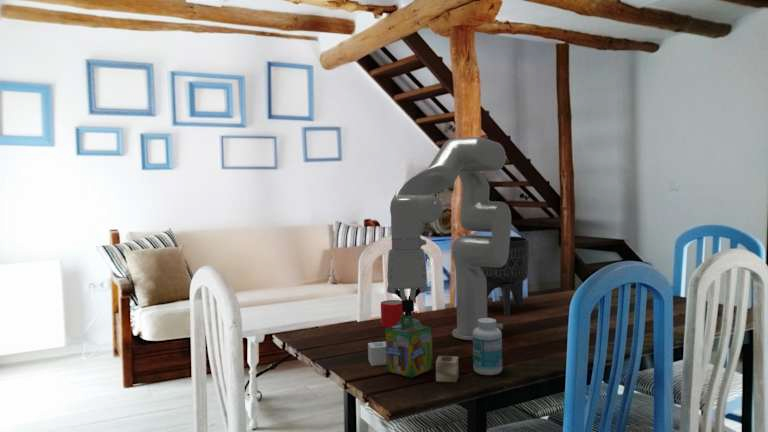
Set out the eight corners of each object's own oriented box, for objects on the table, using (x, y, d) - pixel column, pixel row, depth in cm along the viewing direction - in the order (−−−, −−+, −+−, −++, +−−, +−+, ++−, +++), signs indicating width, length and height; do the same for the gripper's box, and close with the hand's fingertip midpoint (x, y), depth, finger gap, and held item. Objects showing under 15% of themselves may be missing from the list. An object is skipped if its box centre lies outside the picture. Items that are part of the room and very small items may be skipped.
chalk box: (411, 379, 151) (410, 321, 150) (385, 371, 157) (383, 316, 156) (434, 369, 157) (433, 314, 156) (407, 362, 164) (406, 309, 163)
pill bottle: (470, 367, 158) (469, 317, 157) (497, 365, 159) (496, 315, 158) (477, 377, 151) (476, 324, 150) (505, 375, 151) (505, 322, 150)
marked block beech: (458, 375, 152) (458, 355, 152) (456, 382, 147) (455, 362, 147) (439, 374, 153) (438, 354, 153) (436, 381, 149) (435, 361, 148)
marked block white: (385, 358, 168) (385, 340, 167) (389, 364, 163) (389, 345, 163) (368, 360, 167) (367, 342, 166) (371, 366, 162) (370, 347, 162)
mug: (417, 322, 207) (416, 299, 207) (393, 329, 199) (392, 305, 198) (400, 318, 213) (399, 296, 212) (376, 325, 204) (375, 302, 204)
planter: (536, 315, 211) (535, 241, 209) (480, 317, 211) (478, 243, 209) (523, 303, 231) (522, 235, 229) (472, 304, 231) (471, 237, 229)
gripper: (433, 242, 159) (435, 310, 160) (377, 244, 158) (379, 312, 160) (436, 245, 151) (438, 317, 152) (377, 247, 151) (379, 319, 152)
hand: (408, 314), depth 156 cm, fingers closed
